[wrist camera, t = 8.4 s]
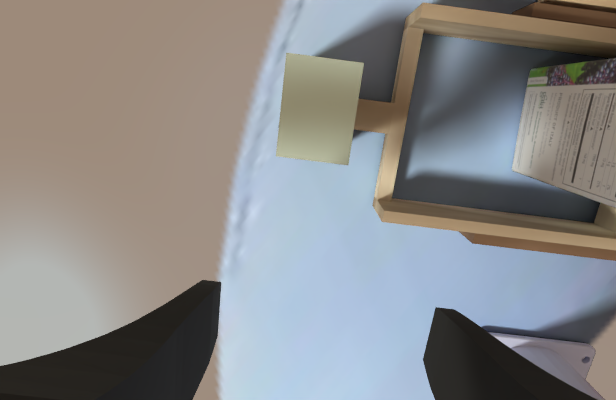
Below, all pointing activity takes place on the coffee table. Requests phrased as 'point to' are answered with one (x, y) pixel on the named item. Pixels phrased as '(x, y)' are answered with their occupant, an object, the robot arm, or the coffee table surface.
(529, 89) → the syrup box
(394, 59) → the coffee table surface
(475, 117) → the coffee table surface
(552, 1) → the wooden bar
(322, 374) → the coffee table surface
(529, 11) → the lane board
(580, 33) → the wooden slotted tray
